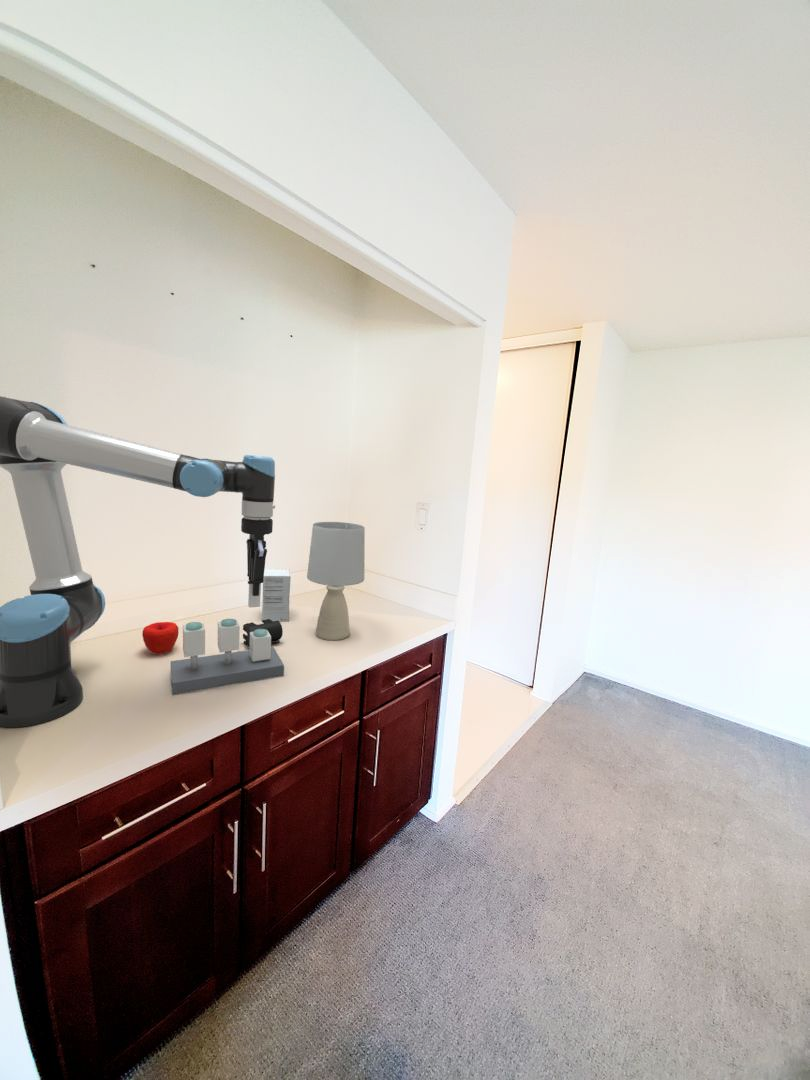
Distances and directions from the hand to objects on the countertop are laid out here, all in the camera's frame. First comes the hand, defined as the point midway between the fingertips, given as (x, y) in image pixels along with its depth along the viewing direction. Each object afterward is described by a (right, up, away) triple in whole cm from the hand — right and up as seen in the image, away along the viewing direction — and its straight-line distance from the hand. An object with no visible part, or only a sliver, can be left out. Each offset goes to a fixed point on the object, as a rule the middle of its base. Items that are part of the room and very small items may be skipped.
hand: (254, 606), depth 111 cm
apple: (-30, -14, +9) cm, 34 cm away
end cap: (-4, -15, +19) cm, 25 cm away
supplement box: (-7, -11, +42) cm, 44 cm away
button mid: (-6, -10, -1) cm, 12 cm away
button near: (-13, -11, -6) cm, 18 cm away
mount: (-7, -18, 0) cm, 19 cm away
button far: (0, -14, +3) cm, 15 cm away
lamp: (+15, -14, +31) cm, 38 cm away
